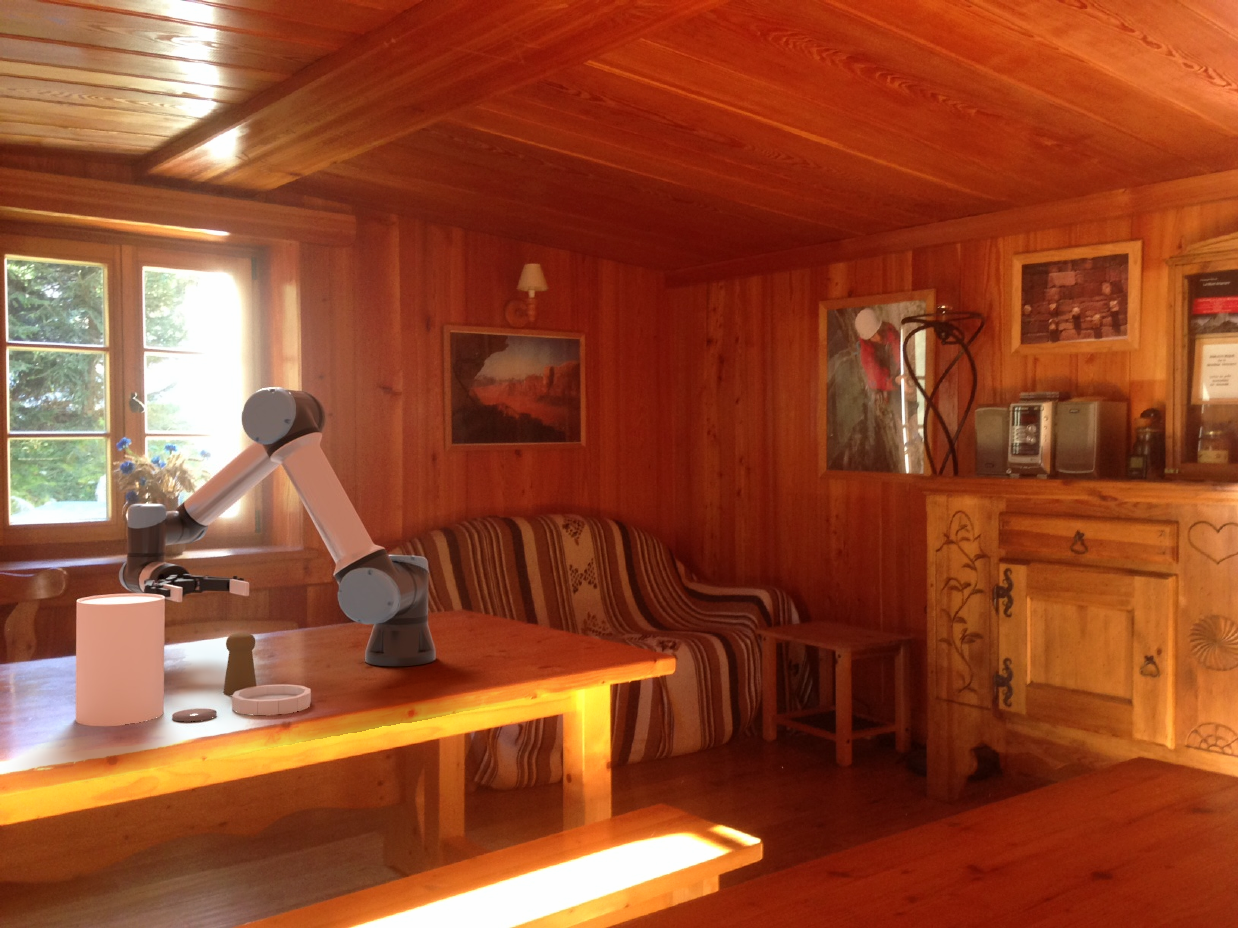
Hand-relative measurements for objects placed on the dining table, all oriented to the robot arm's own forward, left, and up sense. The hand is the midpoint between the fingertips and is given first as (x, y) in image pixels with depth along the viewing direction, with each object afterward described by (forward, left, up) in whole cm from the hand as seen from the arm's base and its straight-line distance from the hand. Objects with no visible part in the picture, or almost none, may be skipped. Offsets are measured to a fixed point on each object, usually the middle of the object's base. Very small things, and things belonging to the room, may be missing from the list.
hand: (214, 591), depth 203 cm
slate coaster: (-1, +26, -18) cm, 32 cm away
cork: (-6, +8, -18) cm, 21 cm away
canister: (+11, +23, -18) cm, 32 cm away
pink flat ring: (-13, +21, -18) cm, 30 cm away
